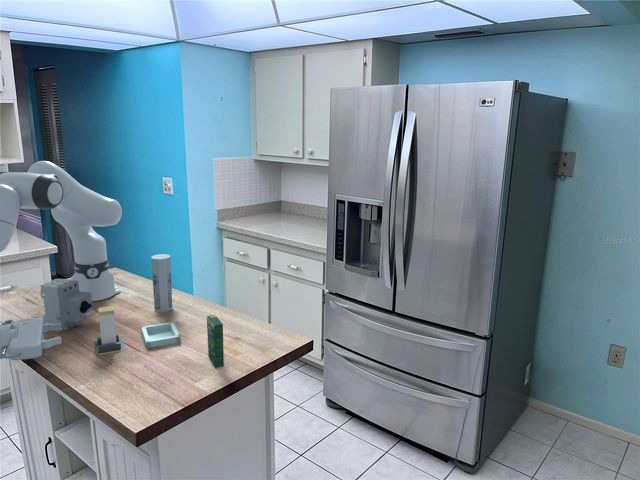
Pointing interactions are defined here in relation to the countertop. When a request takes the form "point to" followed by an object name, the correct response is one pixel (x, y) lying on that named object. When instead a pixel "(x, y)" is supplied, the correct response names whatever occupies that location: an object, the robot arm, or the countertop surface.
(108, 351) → the rails
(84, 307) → the circuit breaker
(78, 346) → the countertop surface
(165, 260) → the spray can
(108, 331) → the fuse
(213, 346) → the coffee box
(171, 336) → the tray
